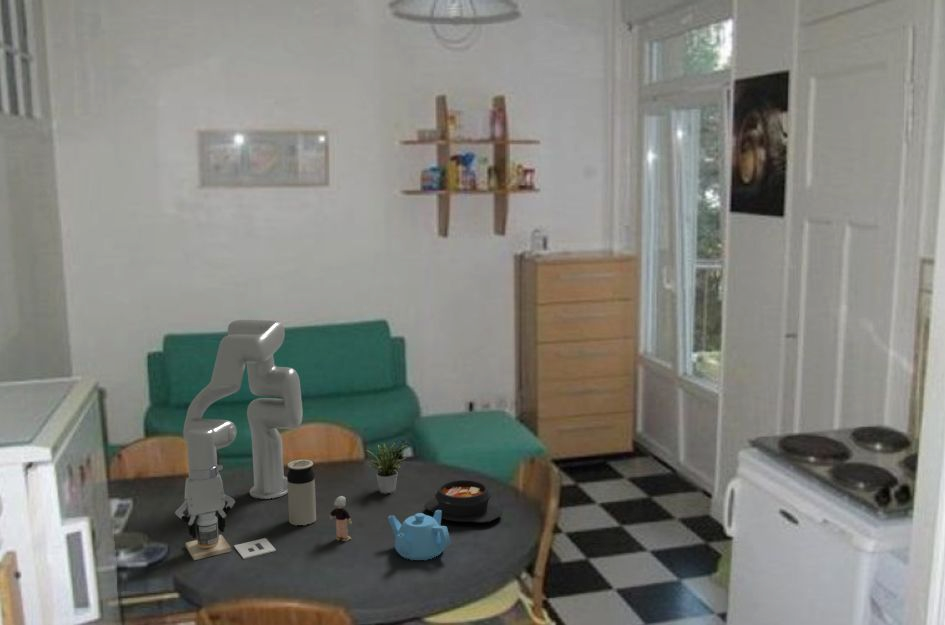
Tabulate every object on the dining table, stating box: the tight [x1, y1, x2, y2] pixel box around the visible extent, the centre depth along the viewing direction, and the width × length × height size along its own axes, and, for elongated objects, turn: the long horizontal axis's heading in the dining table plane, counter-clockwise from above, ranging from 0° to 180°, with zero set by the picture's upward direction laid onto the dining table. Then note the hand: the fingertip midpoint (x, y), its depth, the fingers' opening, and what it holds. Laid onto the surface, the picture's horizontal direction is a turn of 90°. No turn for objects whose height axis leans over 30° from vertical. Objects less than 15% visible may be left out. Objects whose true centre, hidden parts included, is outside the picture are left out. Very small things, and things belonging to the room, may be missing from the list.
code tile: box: [233, 537, 277, 560], centre depth 232 cm, size 9×9×1 cm
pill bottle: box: [195, 511, 220, 548], centre depth 231 cm, size 6×6×10 cm
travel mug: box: [286, 459, 317, 526], centre depth 249 cm, size 8×8×18 cm
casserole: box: [424, 479, 503, 524], centre depth 254 cm, size 25×19×8 cm
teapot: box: [387, 510, 452, 561], centre depth 229 cm, size 15×15×11 cm
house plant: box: [365, 442, 409, 492], centre depth 272 cm, size 14×14×16 cm
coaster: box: [184, 534, 232, 561], centre depth 232 cm, size 10×10×1 cm
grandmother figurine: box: [329, 495, 353, 542], centre depth 237 cm, size 8×4×13 cm, turn 71°
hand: (207, 533), depth 232 cm, fingers open, 7 cm apart
